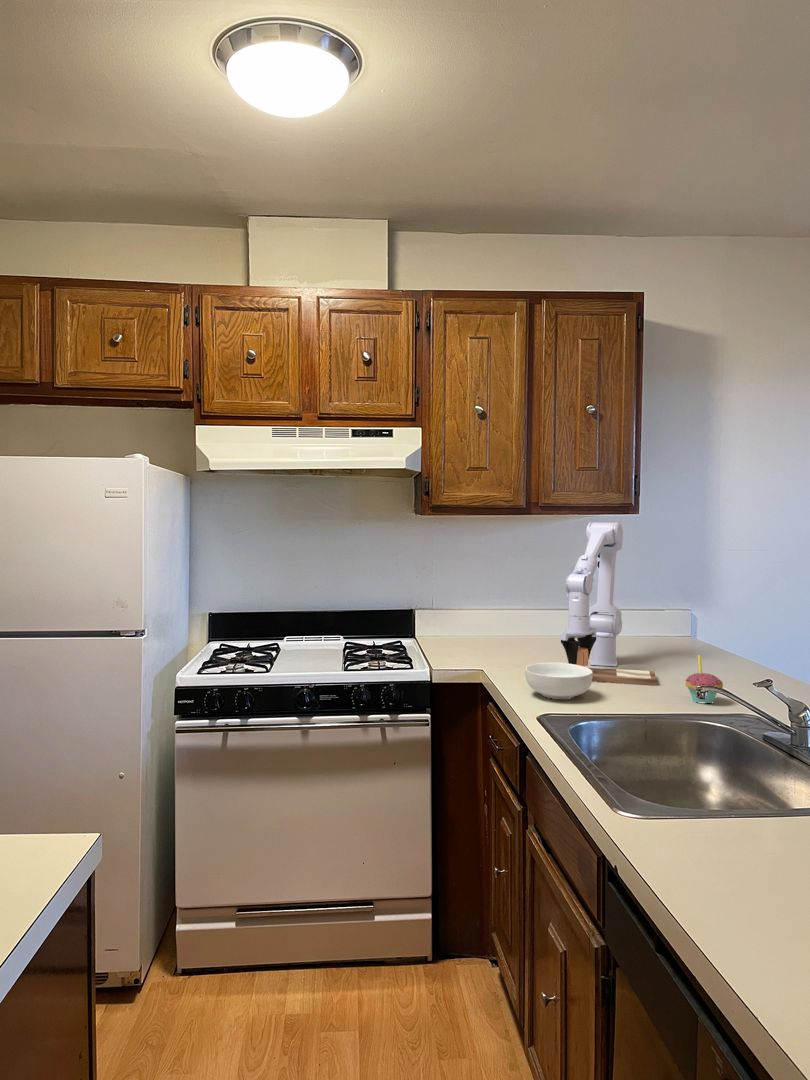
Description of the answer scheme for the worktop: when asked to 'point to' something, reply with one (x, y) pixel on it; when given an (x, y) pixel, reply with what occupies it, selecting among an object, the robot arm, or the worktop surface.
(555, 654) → the worktop surface
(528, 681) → the cereal bowl
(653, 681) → the board
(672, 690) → the worktop surface
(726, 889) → the worktop surface
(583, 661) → the cap
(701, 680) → the cupcake
